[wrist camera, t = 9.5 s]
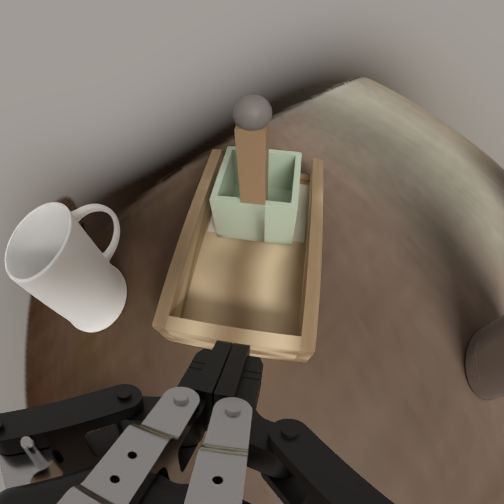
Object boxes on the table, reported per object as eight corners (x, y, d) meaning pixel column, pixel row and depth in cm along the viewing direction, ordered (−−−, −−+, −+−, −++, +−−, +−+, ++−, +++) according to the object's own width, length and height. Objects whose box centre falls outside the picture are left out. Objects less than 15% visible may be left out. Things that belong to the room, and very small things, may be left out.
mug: (122, 234, 34) (80, 165, 23) (162, 275, 31) (121, 203, 20) (56, 297, 29) (-5, 245, 19) (89, 348, 26) (16, 306, 16)
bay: (317, 186, 37) (322, 159, 33) (305, 362, 25) (314, 352, 21) (216, 176, 38) (212, 149, 34) (168, 340, 27) (151, 326, 23)
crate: (296, 190, 35) (310, 66, 21) (291, 247, 30) (310, 111, 17) (232, 183, 35) (219, 62, 22) (216, 238, 31) (189, 105, 17)
